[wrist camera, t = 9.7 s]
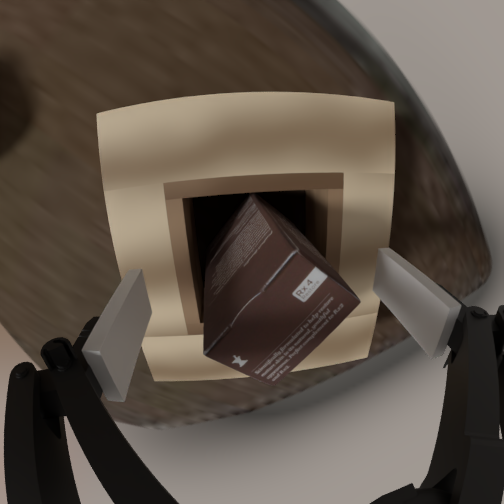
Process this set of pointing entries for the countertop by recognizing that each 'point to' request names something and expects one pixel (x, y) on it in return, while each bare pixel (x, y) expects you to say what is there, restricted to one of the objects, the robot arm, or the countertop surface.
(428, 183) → the countertop surface
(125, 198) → the square frame
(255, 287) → the box
